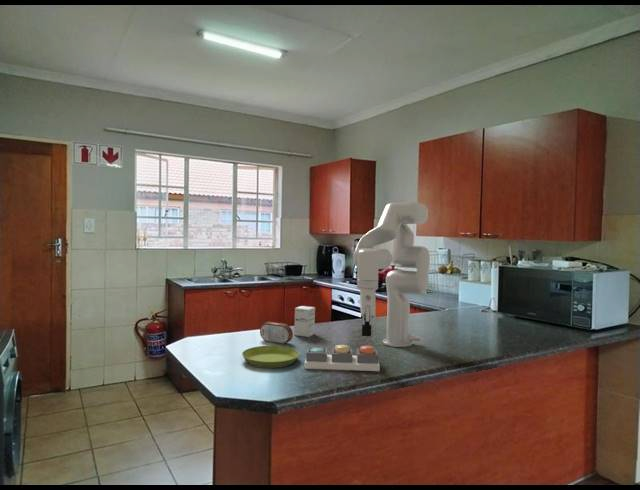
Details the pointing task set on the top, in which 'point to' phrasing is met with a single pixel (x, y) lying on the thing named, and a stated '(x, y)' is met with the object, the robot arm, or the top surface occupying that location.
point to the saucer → (270, 356)
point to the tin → (276, 332)
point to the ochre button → (342, 349)
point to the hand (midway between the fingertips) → (366, 335)
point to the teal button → (317, 350)
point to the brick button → (366, 350)
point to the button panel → (342, 360)
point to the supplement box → (304, 321)
